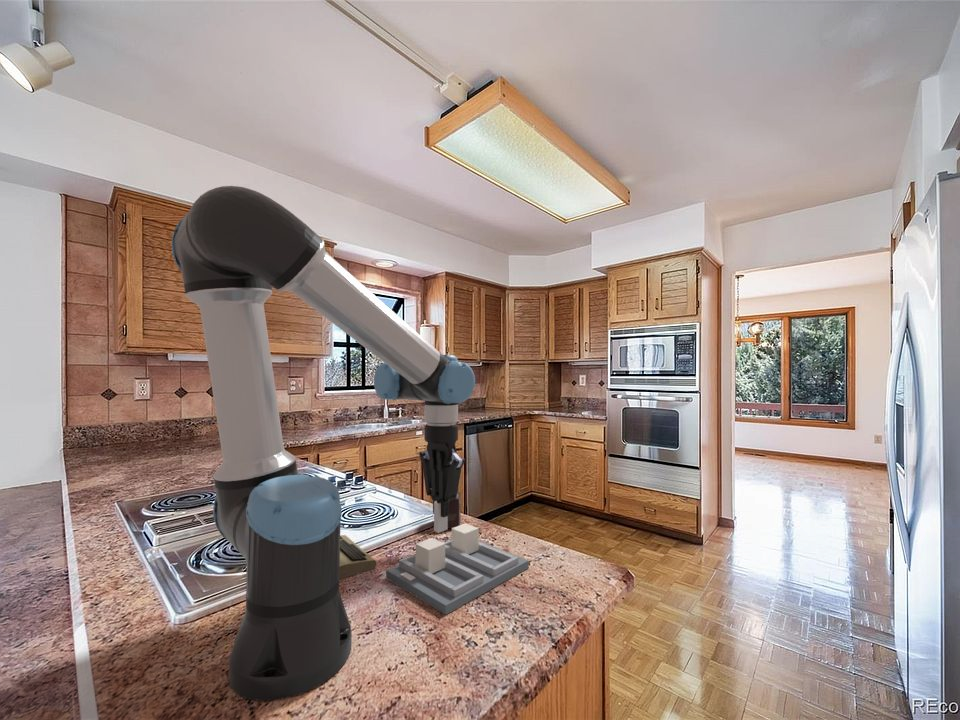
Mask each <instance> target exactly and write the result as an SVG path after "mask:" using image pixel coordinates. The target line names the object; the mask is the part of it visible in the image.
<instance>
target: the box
mask: <svg viewBox="0 0 960 720" xmlns="http://www.w3.org/2000/svg"><path fill="white" fill-rule="evenodd" d="M461 511H462V510H461V491H457V496H456V499H454V500H451V501H449V516H448V528H454V527H457V526H460V525H461V517H462V516H461V514H462V513H461Z"/></svg>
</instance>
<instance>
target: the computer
mask: <svg viewBox="0 0 960 720" xmlns="http://www.w3.org/2000/svg"><path fill="white" fill-rule="evenodd" d="M376 565H377V560H376V559H375V558H373V557H372V556H371V555H369V553H367V552H366V551H365V550H364V549H363V548H362V547H361V546H359V545H358V544H357V543H355V542H354V541H353V540H352V539H351V538H350V537H348V536H347V535H345V534H343V535H341V534H340V571H339V581H340V580H343V579H347V578H349V577H353V576H356V575H359V574H361V573H362V574H363V573H365V572H369V571H371V570H374V569H376Z"/></svg>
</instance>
